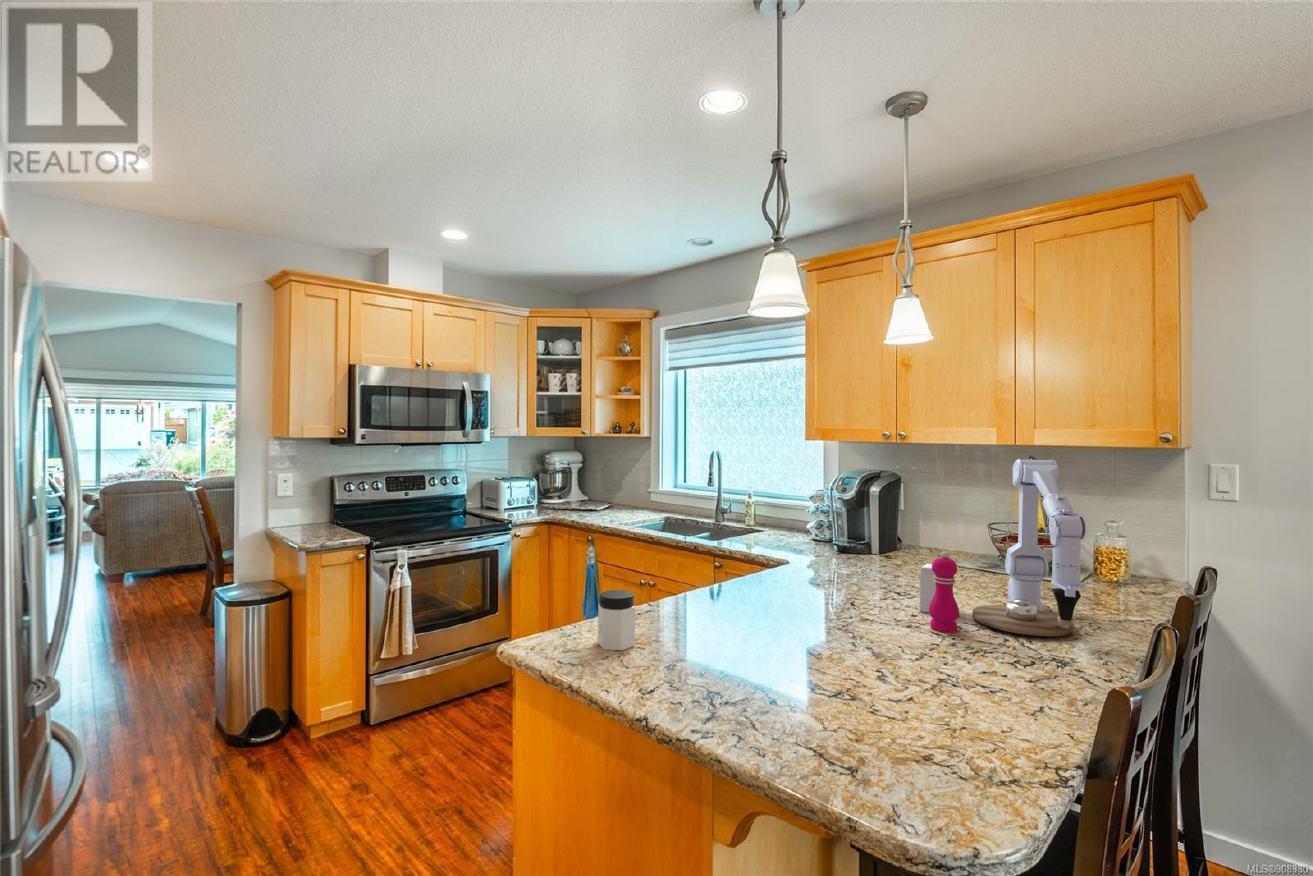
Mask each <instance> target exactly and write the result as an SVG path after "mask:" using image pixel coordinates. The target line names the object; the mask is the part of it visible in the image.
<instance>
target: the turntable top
mask: <svg viewBox="0 0 1313 876" xmlns="http://www.w3.org/2000/svg"><path fill="white" fill-rule="evenodd" d="M971 616H972V618H973V619H974V620H975V621H977V622H979V623H980V624H982V625H984V626H987V627H990V628H992V629H996V630H1000V631H1003V632H1008V633H1014V634H1019V635H1026V636H1027V635H1028V636H1035V637H1063V636H1068V635H1071V634H1073V633H1074V632H1075V624H1074V622H1072V620H1071V621H1066V620H1061V619H1060V616H1059V614H1056V613H1053V612H1050V611H1049V612H1048V611H1046V610H1045V611H1042V610H1037V620H1036V621H1033V622H1026V621H1018V620H1014V619H1011V618H1008V617H1007V616H1006V604H1005V605H1002V604H995V605H994V604H990V605H989V604H987V605H981V606H977V607H974V608H973V609H972V615H971Z"/></svg>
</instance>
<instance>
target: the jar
mask: <svg viewBox="0 0 1313 876" xmlns="http://www.w3.org/2000/svg"><path fill="white" fill-rule="evenodd" d="M598 599H599V600H598V602H599V603H598V606H597V607H598V612H597V613H598V614H597V617H598V618H597V619H598V621H597V622H598V623H597V625H598V626H597V627H598V628H597V631H598V632H597V635H598V636H597V643H598V644H599V646H600V648H601V650H604V649H605V650H606V651H615V650H622V651H625V650H628V649H630V648H633V646H634V647H635V646H636V605H635V594H634V593H633V592H632V591H631V590H630V591H629V590H627V589H609V590H605V591H602V592H600V593H599V598H598ZM605 650H604V651H605Z"/></svg>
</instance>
